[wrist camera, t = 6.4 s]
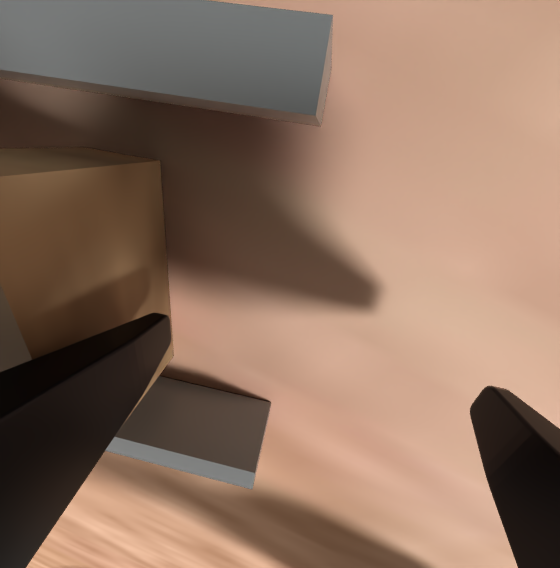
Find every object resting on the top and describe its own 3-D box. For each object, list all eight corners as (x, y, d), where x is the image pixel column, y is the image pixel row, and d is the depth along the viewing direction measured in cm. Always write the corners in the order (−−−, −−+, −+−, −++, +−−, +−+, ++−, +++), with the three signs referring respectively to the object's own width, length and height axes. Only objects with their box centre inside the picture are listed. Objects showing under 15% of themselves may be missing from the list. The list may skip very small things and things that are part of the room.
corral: (268, 418, 13) (252, 489, 10) (7, 355, 14) (-69, 404, 11) (331, 67, 6) (332, 15, 4) (-167, 2, 7) (-435, -74, 5)
